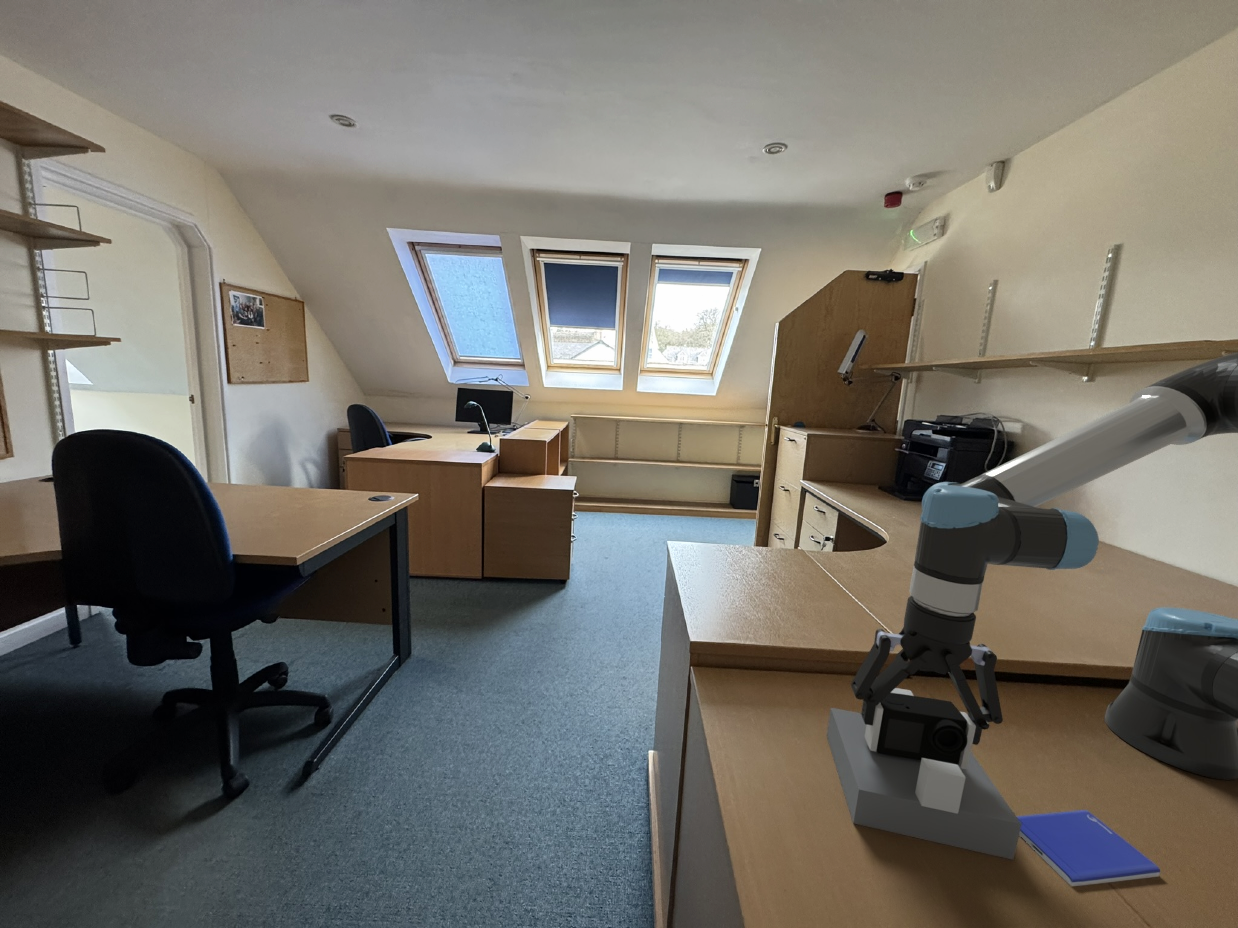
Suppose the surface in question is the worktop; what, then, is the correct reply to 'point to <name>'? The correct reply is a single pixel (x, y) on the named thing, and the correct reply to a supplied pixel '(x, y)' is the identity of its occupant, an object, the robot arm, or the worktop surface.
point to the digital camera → (921, 728)
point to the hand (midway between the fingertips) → (913, 752)
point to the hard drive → (1084, 848)
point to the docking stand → (920, 793)
